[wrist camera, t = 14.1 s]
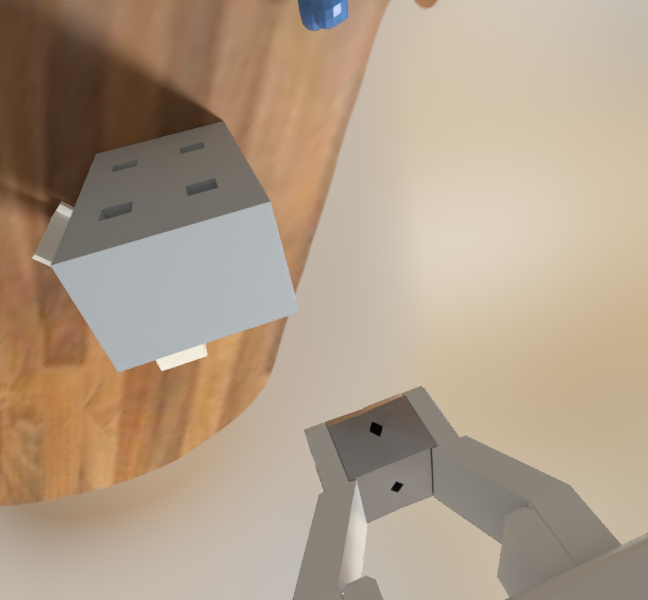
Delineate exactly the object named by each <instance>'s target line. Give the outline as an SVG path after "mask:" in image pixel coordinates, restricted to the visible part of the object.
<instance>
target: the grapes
mask: <svg viewBox="0 0 648 600" xmlns="http://www.w3.org/2000/svg"><path fill="white" fill-rule="evenodd" d="M298 4H299V11H300V16H301V19H302V23H303V25H304V26H305V27H306V28H307V29H308V30H310V31H317V30H320V29H330V28H333V27H335V26H337V25H338V24H340V23H341V22H343V21H344V20H346V19H347V18H348V1H347V0H298Z"/></svg>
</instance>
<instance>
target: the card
mask: <svg viewBox="0 0 648 600" xmlns="http://www.w3.org/2000/svg"><path fill="white" fill-rule="evenodd" d="M73 209H74V207H72V206H71V205H69V204H67V203H65V202H63V201H61V203H60V204H59V206H58V208H57V209H56V211H55V212H54V214H53V216H52V217H51V219H50V223H49V225H48V227H47V229H46V231H45V233H44V235H43V237H42V239H41V241H40V243H39V245H38V248H37V250H36V252H35V254H34V256H33V259H35V260H37V261H39V262H42V263H44V264H46V265H48V266H50V267H51V264H52V261H53V259H54V256H55V254H56V251H57V249H58V246H59V244H60V241H61V239H62V236H63V234H64V232H65V229H66V227H67V224H68V222H69V219H70V217H71V214H72V212H73Z"/></svg>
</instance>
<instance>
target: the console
mask: <svg viewBox="0 0 648 600" xmlns="http://www.w3.org/2000/svg"><path fill="white" fill-rule="evenodd" d="M51 267H52V268H53V270H54V272H55V273H56V275H57V276H58V278H59V280H60V281H61V283H62V284H63V286H64V287H65V289H66V291H67V292H68V294H69V295H70V297H71V298H72V300H73V302H74V303H75V305H76V306H77V308H78V310H79V311H80V313H81V314H82V316H83V317H84V319H85V321H86V322H87V324H88V325H89V327H90V328H91V330H92V332H93V333H94V335H95V336H96V338H97V340H98V341H99V343H100V344H101V346H102V347H103V349H104V351H105V352H106V354H107V355H108V357H109V359H110V360H111V362H112V363H113V365H114V366H115V368H116V370H117V371H118V372H121V371H124V370H127V369H130V368H133V367H136V366H139V365H142V364H145V363H148V362H151V361H154V360H157V359H160V358H163V357H166V356H169V355H172V354H175V353H178V352H181V351H184V350H187V349H190V348H193V347H196V346H199V345H202V344H205V343H208V342H211V341H214V340H217V339H220V338H223V337H226V336H229V335H232V334H235V333H238V332H241V331H244V330H247V329H250V328H253V327H256V326H259V325H262V324H265V323H268V322H271V321H274V320H277V319H280V318H283V317H286V316H289V315H292V314H295V313H298V312H299V309H298V305H297V301H296V297H295V293H294V289H293V286H292V282H291V278H290V274H289V270H288V266H287V263H286V259H285V255H284V251H283V247H282V243H281V240H280V236H279V232H278V228H277V224H276V220H275V217H274V213H273V209H272V205H271V201H270V200H269V198H268V196H267V195H266V193H265V191H264V189H263V188H262V186H261V184H260V183H259V181H258V179H257V177H256V176H255V174H254V172H253V171H252V169H251V167H250V165H249V164H248V162H247V160H246V159H245V157H244V155H243V153H242V152H241V150H240V148H239V147H238V145H237V143H236V141H235V140H234V138H233V136H232V135H231V133H230V131H229V129H228V128H227V126H226V124H225V123H224V121H221V122H217V123H213V124H210V125H206V126H202V127H198V128H194V129H190V130H186V131H183V132H179V133H175V134H171V135H167V136H163V137H159V138H156V139H152V140H148V141H144V142H140V143H136V144H132V145H129V146H125V147H121V148H117V149H113V150H109V151H105V152H102V153H98V154H96V155H95V158H94V160H93V163H92V165H91V167H90V170H89V172H88V175H87V177H86V180H85V182H84V185H83V187H82V190H81V192H80V195H79V197H78V199H77V202H76V204H75V207H74V209H73V212H72V214H71V217H70V219H69V222H68V224H67V227H66V229H65V232H64V234H63V236H62V239H61V241H60V244H59V246H58V249H57V251H56V254H55V256H54V259H53V261H52V264H51Z"/></svg>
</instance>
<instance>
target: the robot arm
mask: <svg viewBox="0 0 648 600" xmlns="http://www.w3.org/2000/svg"><path fill="white" fill-rule="evenodd" d="M304 431H305V435H306V438H307V441H308V444H309V447H310V451H311V454H312V457H313V460H314V463H315V466H316V470H317V472H318V476H319V479H320V482H321V485H322V488H323V490H324V492H323V493H321V494H319V497H318V501H317V505H316V509H315V513H314V517H313V521H312V525H311V529H310V533H309V537H308V541H307V544H306V548H305V552H304V557H303V560H302V564H301V568H300V572H299V576H298V580H297V584H296V588H295V592H294V596H293V600H383V597H382V595H381V593H380V590H379V587H378V585H377V582H376V580H375V579H373V578H370V577H368V576H364V577H362V578H361V576H362V567H363V559H364V551H365V542H366V534H367V523H369V522H371V521H373V520H376V519H378V518H380V517H383V516H385V515H387V514H389V513H391V512H394V511H396V510H398V509H400V508H403V507H406V506H408V505H411V504H413V503H416V502H418V501H421V500H424V499H426V498H429V497H431V496H434V498H436V499H437V500H438V501H440V502H442V503H443V504H444V505H446V506H447V507H449V508H450V509H452V510H453V511H454V512H456V513H457V514H459V515H460V516H462V517H463V518H464V519H466V520H467V521H469V522H470V523H472V524H473V525H475V526H476V527H477V528H479V529H480V530H482V531H483V532H485V533H486V534H488V535H489V536H491V537H492V538H493V539H495V540H496V541H498V542H499V543H500V544H502V547H501V554H500V561H499V568H498V575H497V577H498V578H499V580H500V582H501V583H502V585H503V587H504V588H505V590H506V592H507V594H508V595H509V598H507V599H505V600H648V533H646V534H644V535H642V536H640V537H637V538H635V539H633V540H631V541H629V542H627V543H625V544H623V545H621V544H620V543H619V542H618V540H617V539H616V538H615V537H614V536H613V535H612V534H611V532H610V531H609V530H608V529H607V528H606V527H605V526H604V524H603V523H602V522H601V521H600V520H599V518H598V517H597V516H596V515H595V514H594V513H593V512H592V510H591V509H590V508H589V507H588V506H587V505H586V503H585V502H584V501H583V500H582V499H581V498H580V497H579V495H578V494H577V493H576V492H575V491H574V489H573V488H572V487H571V486H570V485H568V484H566V483H564V482H562V481H560V480H558V479H556V478H554V477H551V476H550V475H548V474H545V473H543V472H541V471H539V470H537V469H535V468H533V467H531V466H529V465H527V464H524V463H522V462H520V461H518V460H516V459H514V458H512V457H510V456H508V455H506V454H503V453H501V452H499V451H497V450H495V449H493V448H491V447H489V446H487V445H485V444H483V443H480V442H478V441H476V440H474V439H472V438H470V437H468V436H466V435H465V436H463V437H459V436H458V434H457V433H456V431H455V430H454V429H453V427H452V426H451V424H450V423H449V422H448V421H447V419H446V417H445V416H444V415H443V413H442V412H441V410H440V409H439V407H438V406H437V405H436V403H435V402H434V401H433V399H432V398H431V396H430V395H429V393H428V392H427V391H426V389H425V388H423V387H422V386H420V387H417V388H415V389H412V390H409V391H407V392H404V393H402V394H397V395H395V396H392V397H390V398H387V399H385V400H382V401H380V402H377V403H375V404H372V405H369V406H367V407H365V408H363V409H361V410H359V411H356V412H353V413H350V414H347V415H344V416H341V417H339V418H335V419H333V420H330V421H327V422H325V423H321V424H319V425H316V426H313V427H310V428H308V429H305V430H304Z"/></svg>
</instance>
